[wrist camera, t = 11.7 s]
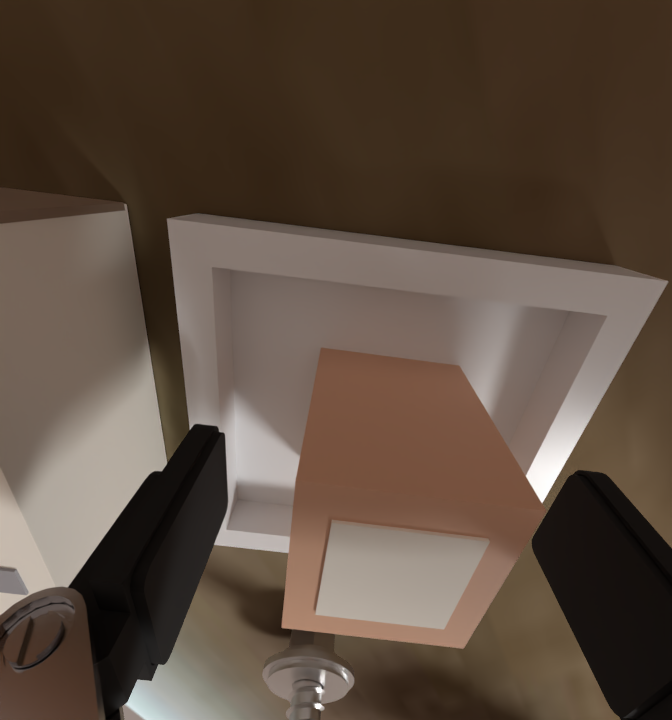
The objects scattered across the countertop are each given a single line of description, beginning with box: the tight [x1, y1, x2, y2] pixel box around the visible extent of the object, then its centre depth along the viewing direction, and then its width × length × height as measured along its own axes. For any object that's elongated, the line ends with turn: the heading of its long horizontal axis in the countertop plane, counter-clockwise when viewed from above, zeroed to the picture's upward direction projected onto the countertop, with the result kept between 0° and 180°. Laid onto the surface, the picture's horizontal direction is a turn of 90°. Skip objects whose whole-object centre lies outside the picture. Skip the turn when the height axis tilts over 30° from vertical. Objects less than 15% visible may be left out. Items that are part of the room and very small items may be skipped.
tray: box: [167, 213, 669, 553], centre depth 12 cm, size 12×12×2 cm
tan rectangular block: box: [281, 348, 546, 649], centre depth 10 cm, size 4×5×6 cm
